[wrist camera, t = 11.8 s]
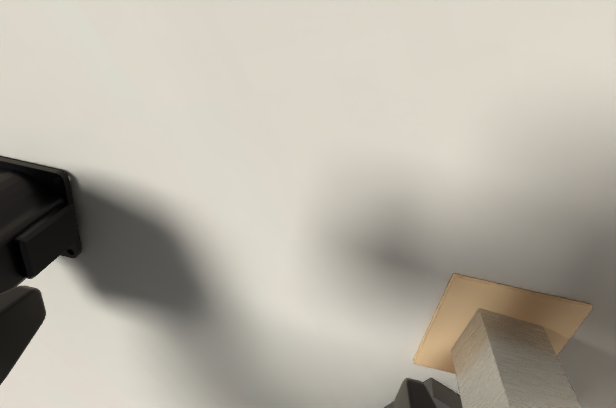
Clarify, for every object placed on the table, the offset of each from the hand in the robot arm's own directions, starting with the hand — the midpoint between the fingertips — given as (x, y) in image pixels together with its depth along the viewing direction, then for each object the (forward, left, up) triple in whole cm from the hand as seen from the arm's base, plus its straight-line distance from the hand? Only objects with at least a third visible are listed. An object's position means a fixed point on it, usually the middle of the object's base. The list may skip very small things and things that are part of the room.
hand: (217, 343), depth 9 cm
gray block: (+14, -10, -13) cm, 21 cm away
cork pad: (+14, -10, -13) cm, 22 cm away
